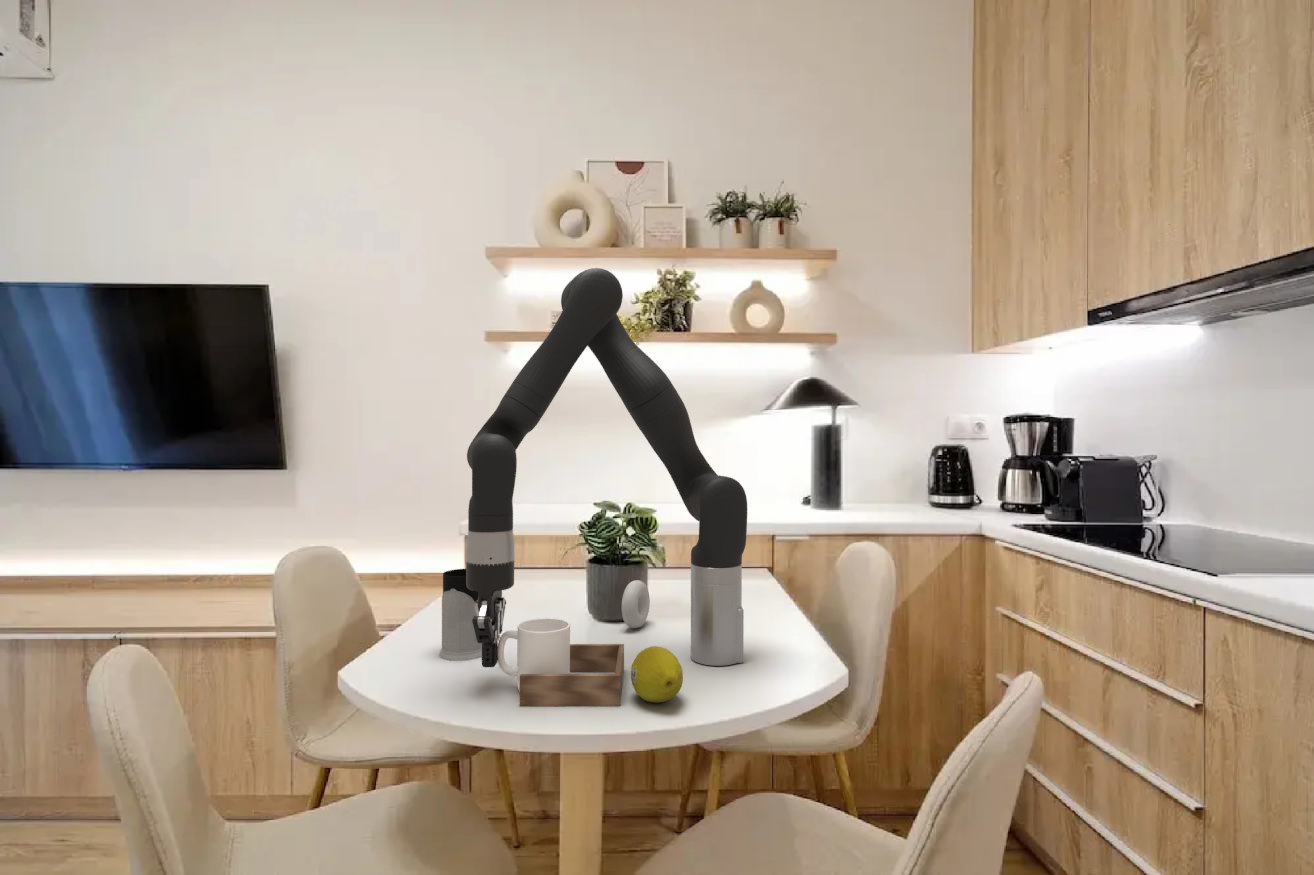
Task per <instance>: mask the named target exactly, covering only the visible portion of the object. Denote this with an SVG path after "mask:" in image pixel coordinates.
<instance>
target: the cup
mask: <svg viewBox="0 0 1314 875" xmlns="http://www.w3.org/2000/svg"><path fill="white" fill-rule="evenodd" d="M508 639H513V640H517V648H516V649H517V653H516V659H517V660H516V662H517V663H516V667H511V666H509V665H508V664H507V663H506V659H505V645H506V642H507V640H508ZM570 644H571V623H570V622H569V621H568V620H565V619H560V618H555V617H554V618H551V617H544V618H543V617H542V618H532V619H527V620H524V621H522V622H520V623H518V625H517V630H512V629H511V630H506V631H504V632H503V633H501V635H500V638H499V641H498V648H497V659H498V662H497V664H498V665H499V666H498V667H499V668H500V669H501V670H502V672H503V673H505V674H506V675H509V676H512V677H516V685H517V686H516V687H517V689H518V692H520V674H571V672H570Z"/></svg>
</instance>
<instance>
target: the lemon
mask: <svg viewBox="0 0 1314 875" xmlns="http://www.w3.org/2000/svg"><path fill="white" fill-rule="evenodd" d="M630 668H631V669H630V679H631V685H632V687H633V689H634V691H635V693H636V694H637V695H638V696H639V697H640V698H642V700H644V701H647V702H649V703H664V702H668V701H669V700H671V699H674V697H676V696H677V695H678V693H680V690H681V689H682V685H683V682H684V676H683V675H684V673H683V668H682V665H681V663H680V661H679V659H678V658H677V656H676V655H675V654H674V653H673V652H672V651H671V650H669V649H667V648H665V647H662V646H649V647H646V648H644V649H642V650H641V651H640V652H639V653H637V655H636V656H635V658H634V660H633V662H632V664H631V667H630Z"/></svg>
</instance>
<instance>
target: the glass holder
mask: <svg viewBox="0 0 1314 875" xmlns="http://www.w3.org/2000/svg"><path fill="white" fill-rule="evenodd" d="M478 596H479V593H478V592H477V591H472V590H470V589H468V588H467V586H466V568H458V569H457V568H455V569H450V570H446V571H444V572H443V573H442V595H441V649H440V651H439V655H438V656H439V658H441V659H443V660H446V661H452V662H455V661H456V662H458V661H461V662H462V661H470V660H476V659H479V658H482V644H481V643H478V642H477V638H476V634H475V630H474V626H473V622H472V619H473V617H474V616H477V613H476V612H475V602H476V601H478Z"/></svg>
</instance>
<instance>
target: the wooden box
mask: <svg viewBox="0 0 1314 875" xmlns="http://www.w3.org/2000/svg"><path fill="white" fill-rule="evenodd" d="M576 672H577V673H576ZM590 672H591V673H590ZM593 672H594V673H593ZM595 672H596V673H595ZM606 672H608V673H606ZM624 673H625V644H624V643H570V674H520V691H519V707H620V706H621V703H622V699H621V698H622V694H623V693H622V691H623V684H624V682H623V681H624Z"/></svg>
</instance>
